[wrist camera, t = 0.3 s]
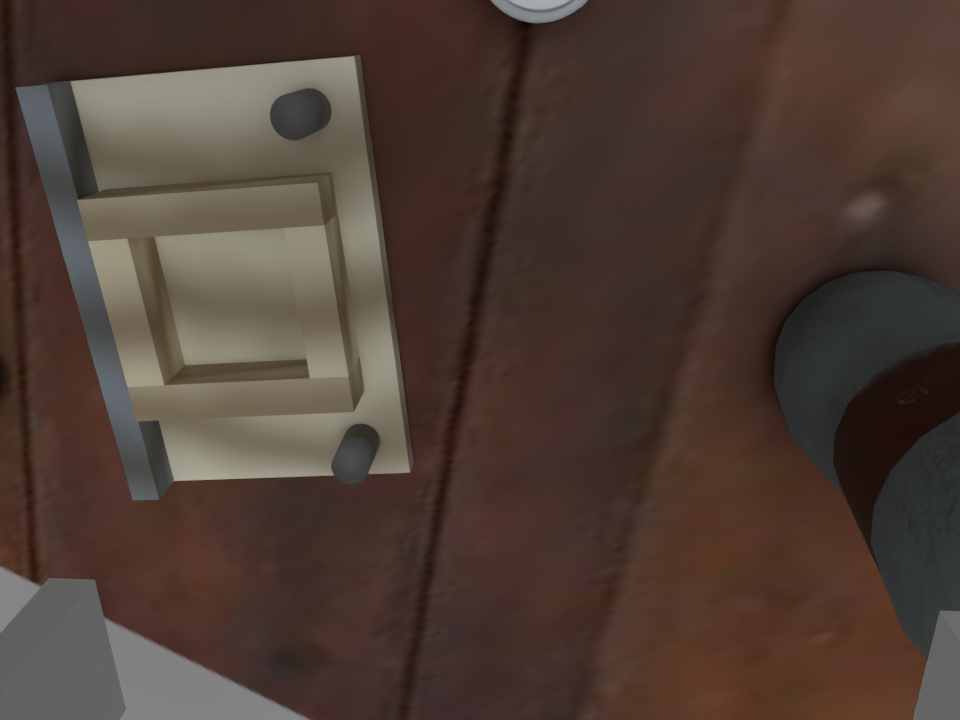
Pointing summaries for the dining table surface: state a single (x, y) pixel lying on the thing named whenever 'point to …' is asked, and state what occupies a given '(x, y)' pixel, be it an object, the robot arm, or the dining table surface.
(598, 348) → the dining table surface
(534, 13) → the supplement bottle
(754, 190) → the dining table surface
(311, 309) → the jig
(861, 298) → the vodka
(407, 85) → the dining table surface
